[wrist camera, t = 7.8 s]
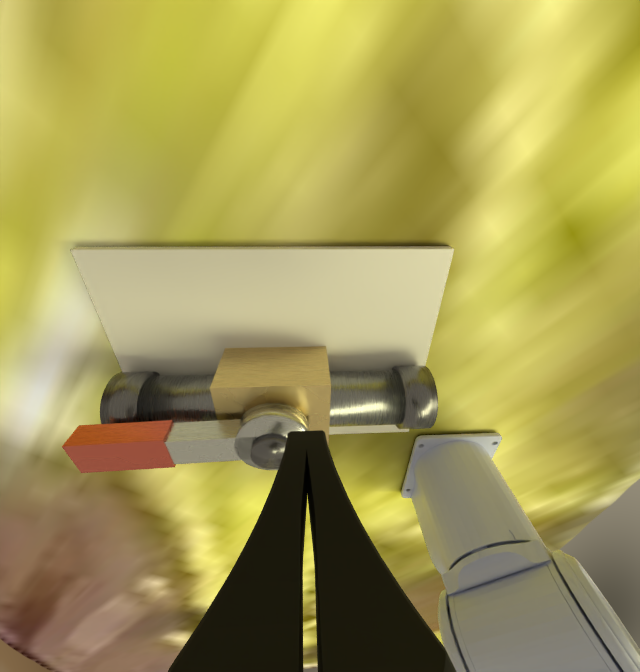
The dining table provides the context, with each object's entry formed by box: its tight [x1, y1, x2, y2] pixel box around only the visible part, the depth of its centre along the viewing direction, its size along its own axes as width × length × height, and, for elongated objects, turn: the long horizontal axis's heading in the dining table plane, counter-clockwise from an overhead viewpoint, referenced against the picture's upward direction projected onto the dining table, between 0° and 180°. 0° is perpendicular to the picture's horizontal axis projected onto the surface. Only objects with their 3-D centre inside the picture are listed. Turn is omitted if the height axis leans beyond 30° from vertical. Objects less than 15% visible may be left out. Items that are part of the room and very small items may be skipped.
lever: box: [62, 403, 309, 473], centre depth 18 cm, size 14×4×2 cm, turn 92°
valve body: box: [100, 346, 438, 446], centre depth 21 cm, size 6×21×5 cm, turn 89°
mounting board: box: [70, 246, 454, 434], centre depth 22 cm, size 16×22×1 cm
